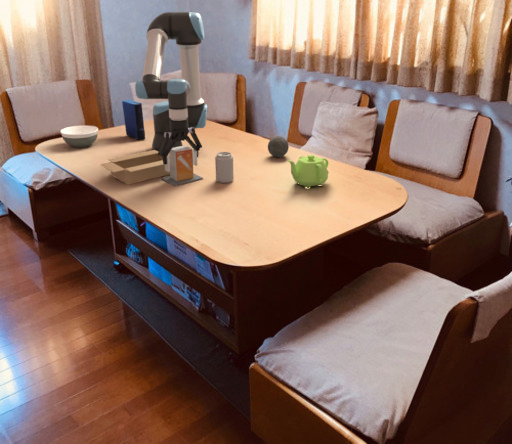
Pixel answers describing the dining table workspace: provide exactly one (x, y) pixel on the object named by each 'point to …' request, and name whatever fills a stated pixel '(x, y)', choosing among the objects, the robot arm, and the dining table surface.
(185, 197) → the dining table surface
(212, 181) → the dining table surface
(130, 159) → the carton
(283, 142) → the decorative ball
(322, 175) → the teapot
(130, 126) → the book
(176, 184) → the mat
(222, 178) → the can
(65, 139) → the bowl
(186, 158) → the small box
